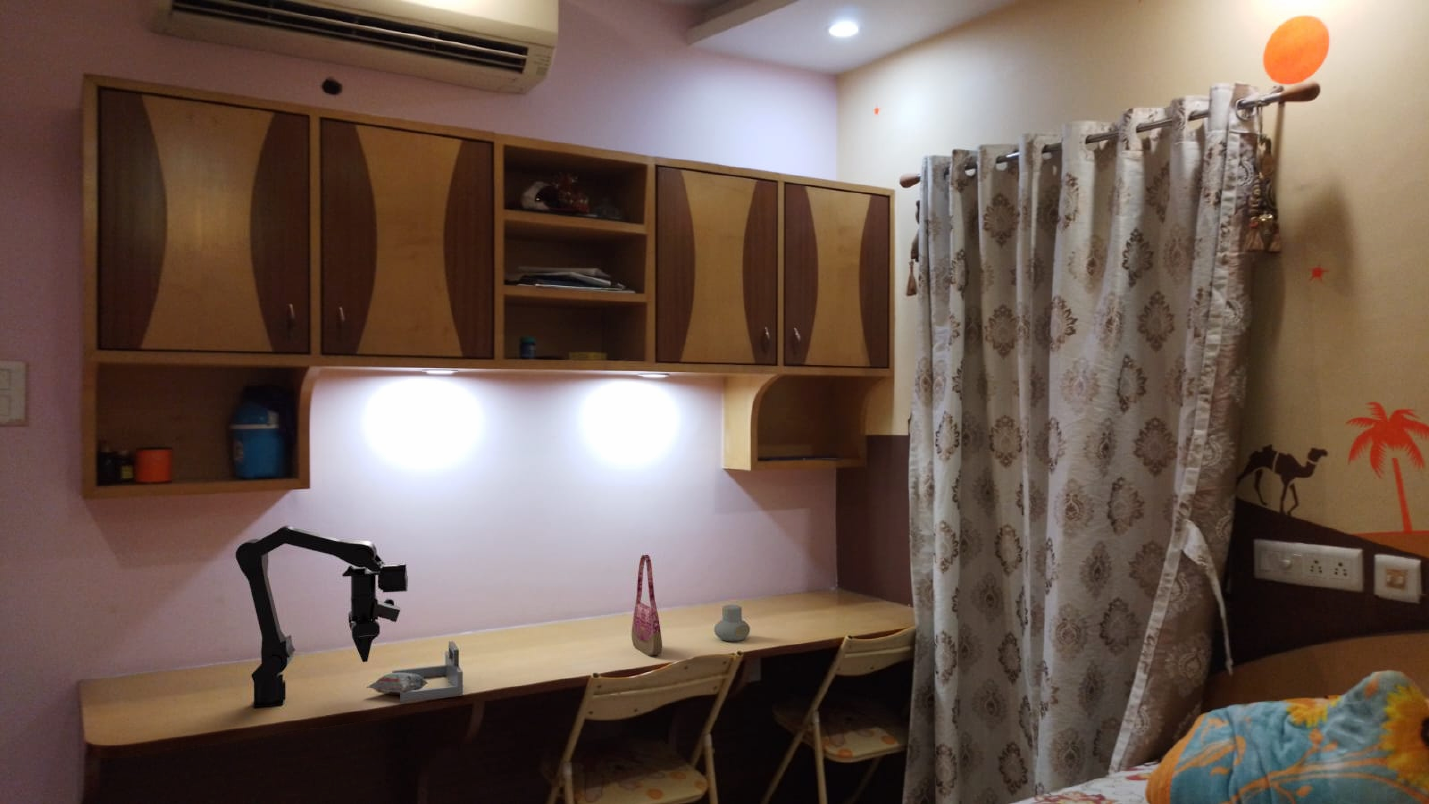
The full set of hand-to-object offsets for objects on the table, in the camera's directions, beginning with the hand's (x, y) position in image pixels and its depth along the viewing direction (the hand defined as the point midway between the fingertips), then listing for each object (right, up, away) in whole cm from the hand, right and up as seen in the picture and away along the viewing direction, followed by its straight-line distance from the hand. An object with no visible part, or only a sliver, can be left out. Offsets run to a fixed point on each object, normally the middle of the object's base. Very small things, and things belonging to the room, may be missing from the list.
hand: (363, 657), depth 234 cm
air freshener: (+91, -10, +58) cm, 108 cm away
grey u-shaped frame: (+13, -10, +8) cm, 18 cm away
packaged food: (+4, -11, +1) cm, 12 cm away
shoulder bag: (+66, -10, +43) cm, 80 cm away
